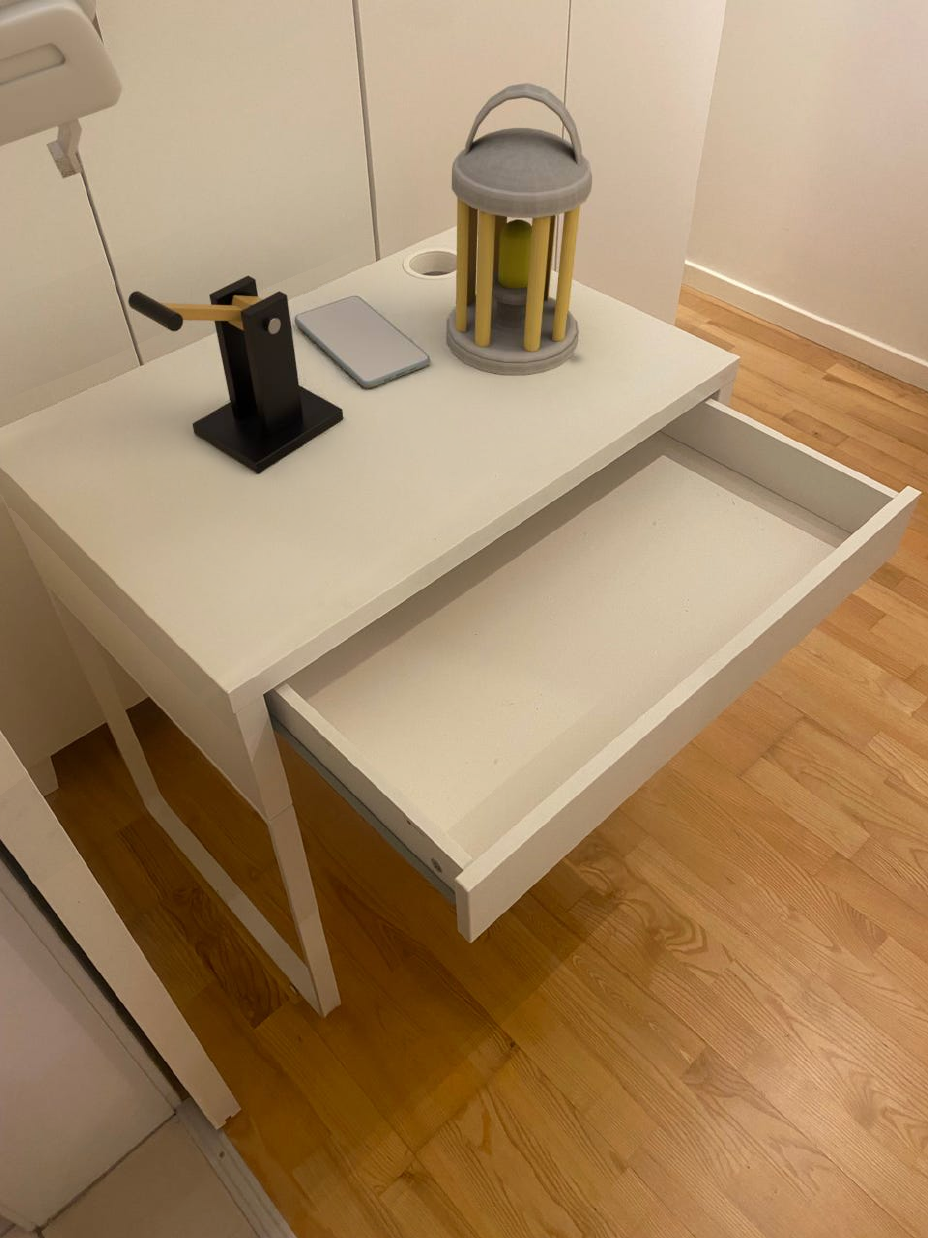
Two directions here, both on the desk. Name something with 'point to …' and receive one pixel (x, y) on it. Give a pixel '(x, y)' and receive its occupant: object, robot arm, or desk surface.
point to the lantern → (516, 242)
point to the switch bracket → (262, 385)
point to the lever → (190, 310)
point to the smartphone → (362, 341)
